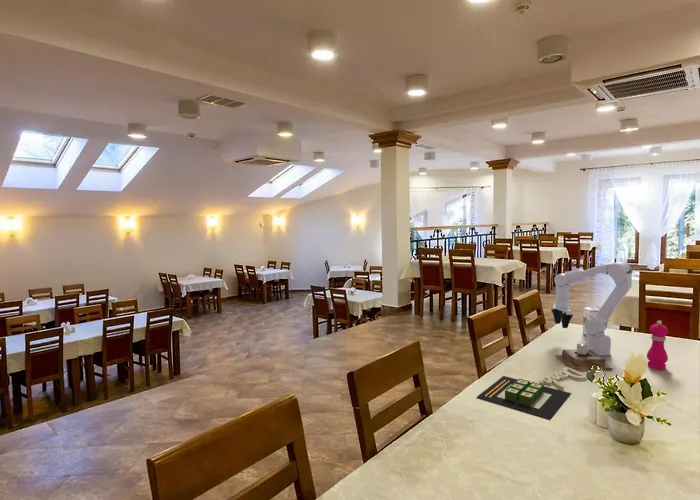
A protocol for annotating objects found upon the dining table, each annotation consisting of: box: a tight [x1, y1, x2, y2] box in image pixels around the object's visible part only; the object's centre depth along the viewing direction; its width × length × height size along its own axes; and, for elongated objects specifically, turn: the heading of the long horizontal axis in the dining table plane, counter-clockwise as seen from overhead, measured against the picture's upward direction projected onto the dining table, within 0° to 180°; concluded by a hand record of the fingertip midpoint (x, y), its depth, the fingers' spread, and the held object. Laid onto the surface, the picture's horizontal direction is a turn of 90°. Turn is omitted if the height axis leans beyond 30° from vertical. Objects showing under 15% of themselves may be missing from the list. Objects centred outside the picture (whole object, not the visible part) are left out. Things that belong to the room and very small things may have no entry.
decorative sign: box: [539, 366, 587, 391], centre depth 169 cm, size 23×2×10 cm
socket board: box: [555, 349, 613, 371], centre depth 186 cm, size 16×16×4 cm
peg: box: [576, 343, 587, 357], centre depth 185 cm, size 4×4×7 cm
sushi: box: [476, 375, 572, 421], centre depth 155 cm, size 25×25×4 cm
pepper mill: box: [646, 320, 669, 371], centre depth 179 cm, size 7×7×20 cm
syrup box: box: [582, 306, 600, 336], centre depth 223 cm, size 6×6×14 cm
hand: (561, 325), depth 210 cm, fingers open, 7 cm apart
